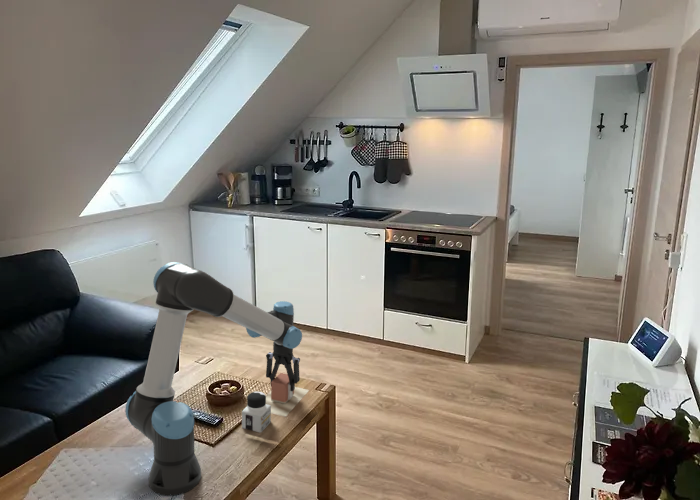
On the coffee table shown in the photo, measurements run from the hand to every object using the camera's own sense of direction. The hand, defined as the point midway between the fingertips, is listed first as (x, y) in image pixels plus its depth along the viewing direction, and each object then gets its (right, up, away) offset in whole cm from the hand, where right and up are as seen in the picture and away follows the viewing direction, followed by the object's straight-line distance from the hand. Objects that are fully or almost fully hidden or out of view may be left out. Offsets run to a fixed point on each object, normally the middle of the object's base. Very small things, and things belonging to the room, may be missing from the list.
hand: (282, 395), depth 211 cm
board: (0, -2, 0) cm, 2 cm away
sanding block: (0, -1, 0) cm, 1 cm away
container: (-7, -7, -18) cm, 20 cm away
